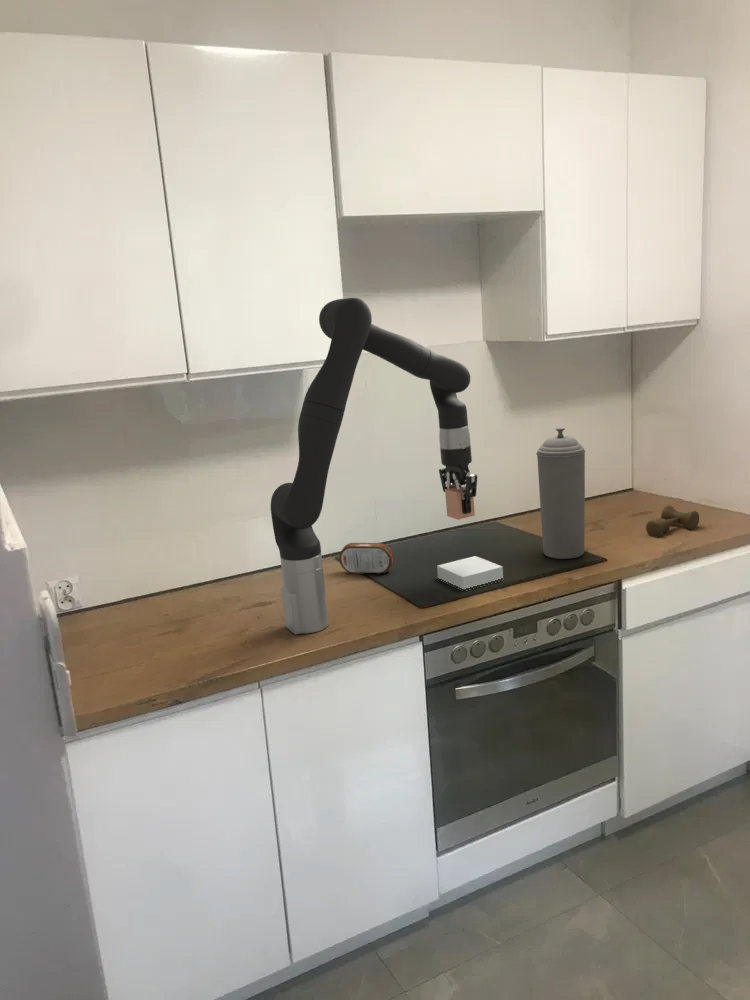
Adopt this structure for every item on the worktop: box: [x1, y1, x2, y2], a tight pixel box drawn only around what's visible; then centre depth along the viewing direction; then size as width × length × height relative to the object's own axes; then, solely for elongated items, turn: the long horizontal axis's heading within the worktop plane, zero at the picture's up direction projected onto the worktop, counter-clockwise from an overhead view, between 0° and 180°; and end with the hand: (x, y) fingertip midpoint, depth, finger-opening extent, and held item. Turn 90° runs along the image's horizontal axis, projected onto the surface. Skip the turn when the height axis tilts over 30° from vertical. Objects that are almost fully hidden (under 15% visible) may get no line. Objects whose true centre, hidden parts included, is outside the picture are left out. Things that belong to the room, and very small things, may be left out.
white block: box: [436, 555, 504, 589], centre depth 201 cm, size 12×12×4 cm
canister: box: [535, 426, 586, 560], centre depth 211 cm, size 13×13×35 cm
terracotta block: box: [444, 485, 476, 521], centre depth 197 cm, size 5×5×7 cm
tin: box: [338, 542, 395, 575], centre depth 213 cm, size 15×3×8 cm, turn 74°
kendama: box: [645, 505, 700, 538], centre depth 228 cm, size 6×10×20 cm
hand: (460, 510), depth 197 cm, fingers closed on terracotta block, 5 cm apart
